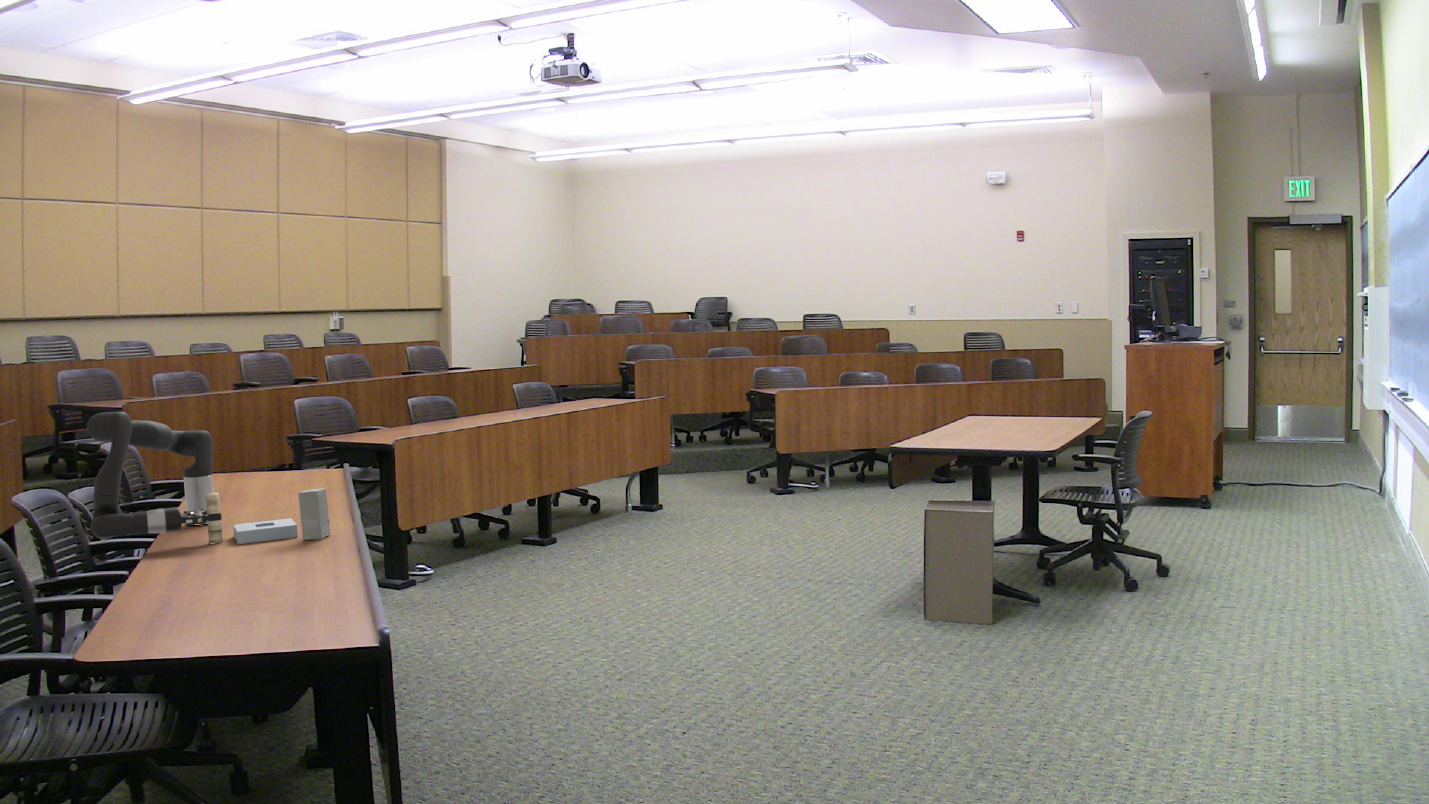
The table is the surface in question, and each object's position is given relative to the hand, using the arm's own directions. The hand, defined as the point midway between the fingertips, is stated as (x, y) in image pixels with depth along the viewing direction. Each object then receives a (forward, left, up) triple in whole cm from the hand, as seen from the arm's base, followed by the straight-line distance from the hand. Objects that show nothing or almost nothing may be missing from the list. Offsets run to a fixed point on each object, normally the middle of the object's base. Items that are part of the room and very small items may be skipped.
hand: (220, 514), depth 348 cm
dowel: (0, -2, -9) cm, 9 cm away
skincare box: (+12, +27, -9) cm, 31 cm away
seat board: (0, +13, -9) cm, 16 cm away
